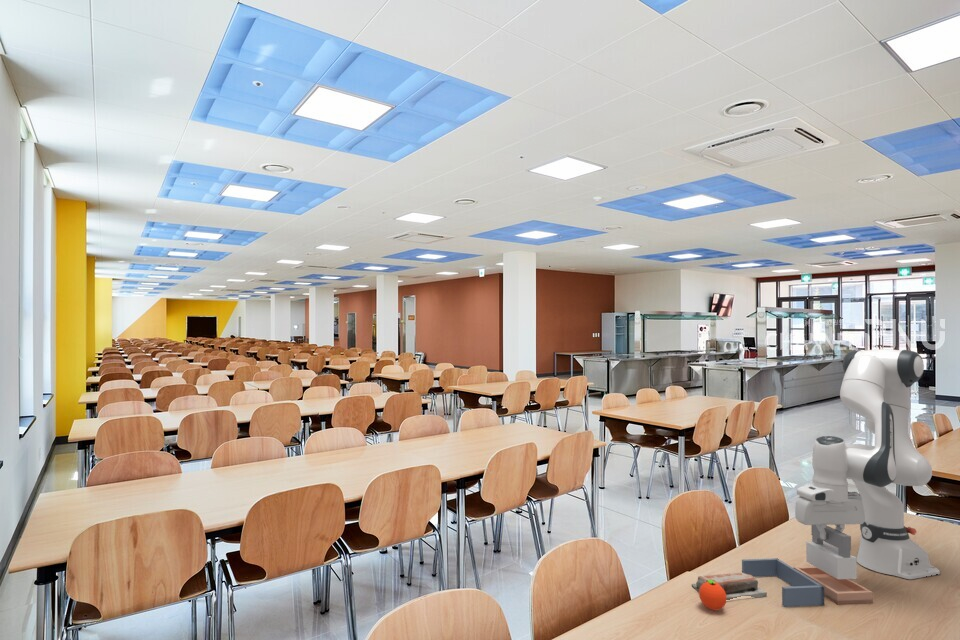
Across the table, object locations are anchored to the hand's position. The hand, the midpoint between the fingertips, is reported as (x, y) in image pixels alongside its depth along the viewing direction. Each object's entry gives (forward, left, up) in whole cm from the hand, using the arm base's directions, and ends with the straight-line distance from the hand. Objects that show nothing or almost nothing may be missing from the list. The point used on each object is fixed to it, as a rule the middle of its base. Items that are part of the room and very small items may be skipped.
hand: (830, 538), depth 153 cm
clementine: (+42, +7, -15) cm, 45 cm away
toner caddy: (0, 0, -9) cm, 9 cm away
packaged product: (+32, -1, -16) cm, 35 cm away
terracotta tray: (0, 0, -15) cm, 15 cm away
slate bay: (+16, -1, -15) cm, 22 cm away
